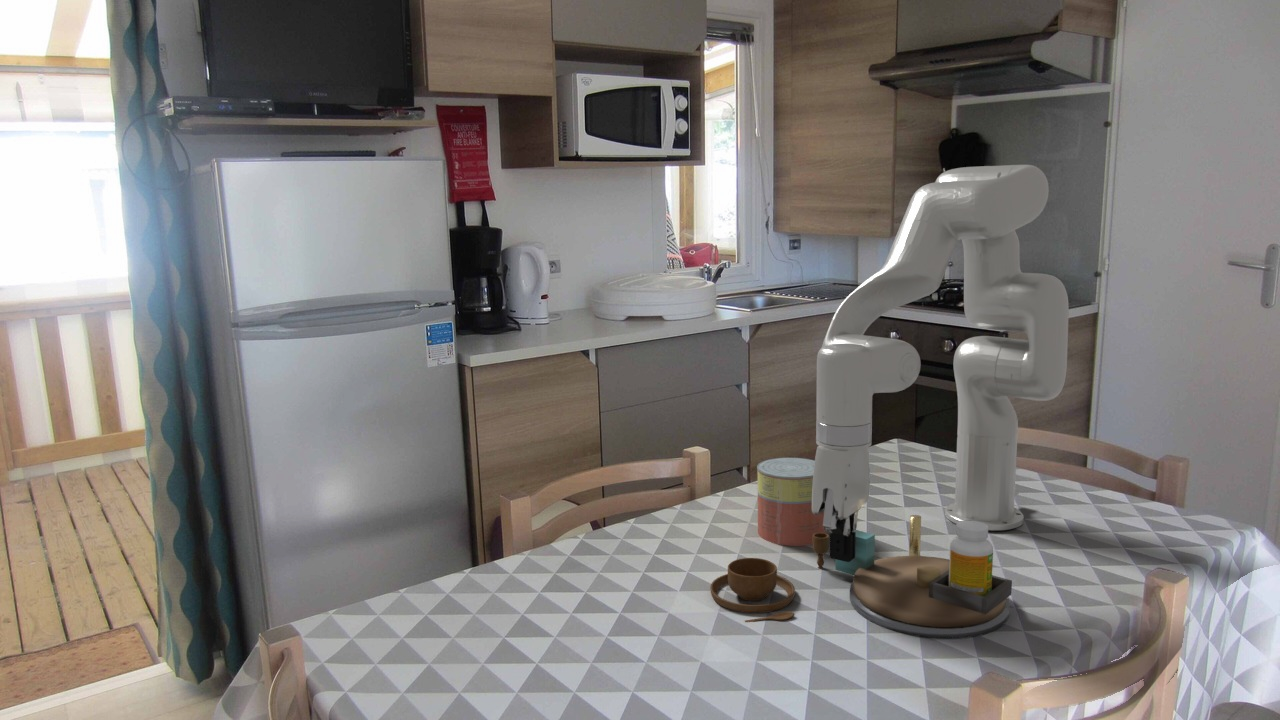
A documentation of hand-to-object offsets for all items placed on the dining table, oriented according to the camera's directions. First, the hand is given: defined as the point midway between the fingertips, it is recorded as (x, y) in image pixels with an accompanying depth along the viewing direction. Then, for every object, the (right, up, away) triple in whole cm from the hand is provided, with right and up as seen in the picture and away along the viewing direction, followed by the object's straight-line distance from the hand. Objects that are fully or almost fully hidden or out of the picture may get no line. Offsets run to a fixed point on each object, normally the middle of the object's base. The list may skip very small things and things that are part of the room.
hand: (842, 558), depth 129 cm
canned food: (-3, -1, +23) cm, 23 cm away
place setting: (-9, -6, +1) cm, 11 cm away
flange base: (+11, -5, -4) cm, 13 cm away
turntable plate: (+9, -4, -2) cm, 11 cm away
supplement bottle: (+15, -3, -8) cm, 18 cm away
